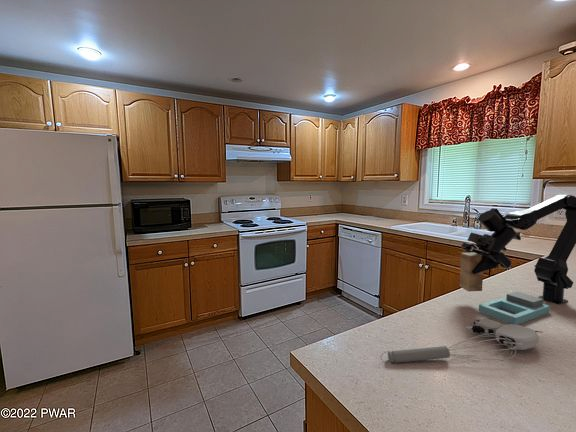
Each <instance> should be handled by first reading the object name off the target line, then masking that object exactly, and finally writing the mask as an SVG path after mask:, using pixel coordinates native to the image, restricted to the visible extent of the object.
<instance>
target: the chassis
mask: <svg viewBox="0 0 576 432" xmlns="http://www.w3.org/2000/svg"><path fill="white" fill-rule="evenodd" d="M538 297H539V296H534V295H531V294H528V293H523V292H520V291H513V292H512V291H511V292H510V293H506V296H504V297H500V298H497V299H494V300H491V301H487V302H482V303H479V304H478V312H479V313H480V314H484V315H487V316H489V317H491V318H494V319H497V320H499V321H502V322H504V323H506V324H508V325H509V324H515V325H520V324H522V323H523V324H524V323H525V322H529V321H531V320H534V319H536V318H539V317H543V316H544V315H545V316H546V315H547V314H550V312H551V311H550V309H551V308H550V307H551V306H550V305H549V304H545V303H544V300H543V299H541V298H538ZM501 309H503V310H501ZM505 310H506V311H505ZM507 311H509V312H507ZM510 312H513V313H510ZM514 313H515V314H514Z"/></svg>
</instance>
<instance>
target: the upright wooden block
mask: <svg viewBox="0 0 576 432" xmlns="http://www.w3.org/2000/svg"><path fill="white" fill-rule="evenodd" d="M481 260H482V255H480V254H477V253H474V252H470V253H467V252H460V266H459V270H460V271H459V287H460V288H462V289H463V290H465V291H467V292H482V291H483V283H484V282H483V281H484V280H483V279H484V271H483V272H479V273H476V274H473V273H472V271H473V269H474V268H475V267H476V266H477V265H478V264H479V262H480V261H481Z"/></svg>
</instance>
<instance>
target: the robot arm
mask: <svg viewBox="0 0 576 432" xmlns="http://www.w3.org/2000/svg"><path fill="white" fill-rule="evenodd" d="M559 210H560V211H561V210H565V212H564V215H565V219H566V221H565V224H564V225H563V228H562V230H561V231H560V233H559V236H558V237H557V239H556V241H555V243H554V245H553V247H552V249H551V251H550V252H549V255H547V256H546V257H539V258H538V259H537V262H536V264H535V265H534V273H535V276H536V280H537V281H538V282H541V283H543V286H542V295H539V296H537V297H538V298H541V299H543V301H546V302H549V303H552V304H557V305H562V304H564V303H567V302H568V301H569V300H568V299H565V298H564V297H565V289H566V290H567V289H571V288H572V287H573V285H574V282H573V280H572V279H571V278H570V277H569V276H568V275H567V274H568V271H569V267H568V263H567V261H568V259H569V258H570V256H571V253H572V252H573V250H574V248H575V246H576V196H575V195H572V194H557V195H554V196H553V197H551V198H548V199H547V200H544V201H543V202H541V203H538V204H536V205H534V206H532V207H530V208H527V209H522V210H515V211H512V212H509V213H507V214H506V215H502V213H501V212H500V210H498V209H497V208H496V207H495V208H493V207H492V208H491V209H489V210H486V211H484V212H483V213H480V215H479V216H478V218H477V220H478V221H479V222H480V224H481V225H483V227H484V228H485V229H486V230H487V231H488V232H491V234H489V233H488V234H487V233H484V234H483V235H482V234H480V233H475V232H470V233H469V236H468V238H467V241H468V242H463V243H462V244H461V245H460V248H462V249H463V251H465V253H470V252H474V253H477V254H480V255H482V260H481V261H480V262H479V264H478V265H477V266H476V267H475V268H474V269H473V271H472V273H473V274H476V273H479V272H483V273H484V272H486V271H488V270H493V269H496V268H497V269H498V268H500V267H501V268H503V269H507V270H508V269H509V268H510V267H511V266H512V261H511V259H510V258H509V257H508V256H507V255H506V253H504V252H506V251H507V247H506V246H508V245H509V244H510V242H512V241H513V240H516V241H521V240H522V237H521V232H518V231H516V230H522V231H526V230H529V229H530V228H532V227H533V226H535V225H536V224H537V222H538V221H539V220H540V219H543V218H544V217H547V216H549V215H551V214H553V213H556V212H558V211H559ZM492 232H493V233H492ZM470 242H471V243H470ZM474 244H475V245H474ZM502 251H503V252H502Z"/></svg>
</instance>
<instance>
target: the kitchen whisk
mask: <svg viewBox="0 0 576 432" xmlns="http://www.w3.org/2000/svg"><path fill="white" fill-rule="evenodd" d="M491 334H494V333H491ZM485 335H487V334H483V335H482V334H479V335H475V336H472V337H470V338H467V339H464V340H462V341H459V342H457V343H454V344H453V345H450V346H446V345H443V346H442V345H441V346H430V347H420V348H412V349H410V348H409V349H400V350H399V349H398V350H392V351H390V350H388V351H385V352H382V353H381V355H380V357H382V356H383V355H384V354H386V353H387V358H388V361H389V362H390V363H394V364H396V363H397V364H398V363H409V362H416V361H417V362H418V361H428V360H440V359H449V358H450V357H454V358H459V359H462V360H467V361H468V360H469V361H471V356H470V355H469V354H467V355H465V354H464V355H463V354H460V355H458V356H457V354H455V351H456V350H458V349H459V350H462V349H464V347H465V346H466V347H465V349H470V348H471V346H468V345H472V344H477V343H482V342H486V341H489V339H486V340H480V341H476V342H471V343H466V344H463V345H460V346H456V345H459V344H462V343H464V342H467V341H470V340H474V339H478V338H485V337H491V338H492V339H491V338H490V341H494V340H496V336H485ZM499 335H501V334H499ZM502 336H503V335H502ZM504 337H505V336H504ZM498 338H499V339H503V338H501V337H498ZM507 339H508V338H507ZM504 340H505V339H504ZM508 340H510V339H508ZM506 341H507V340H506ZM509 343H510V341H509ZM510 344H511V343H510ZM512 344H513V342H512ZM512 344H511V345H510V346H511V347H510V348H504V349H500V351H502V352H501V353H500V352H499V353H496V354H494V356H498V355H501V354H504V353H506V352H508V351H510V350H512V349H513V348H512V346H513V345H512ZM484 346H488V344H484V345H483V344H482V345H480V347H484ZM492 346H506V345H505V344H500V343H498V344H492ZM451 347H452V348H451ZM460 347H461V348H460ZM475 347H476V348H477V347H478V345H475V346H473V345H472V348H475ZM513 347H514V349H515V348H516V346H513ZM492 351H494V352H495V351H497V349H490V350H486V352H492ZM514 351H515V352H514V354H513V351H511V352H510V355H509V356H508V357H505V358H497V359H496V358H492V359H491V358H483V360H487V361H500V362H502V361H505V360H508V359H512V358H514V357H515V356H516V355H517V350H514ZM474 352H475V353H476V352H477V353H478V352H481V350H472V351H471V350H470V351H465V353H474ZM453 353H454V354H453ZM475 359H476V360H475ZM380 360H381V362H383V363H385V364H387V363H388V362H386V361H384V360H383V359H382V358H380ZM478 360H480V358H477V357H473V359H472V361H474V362H478Z"/></svg>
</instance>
